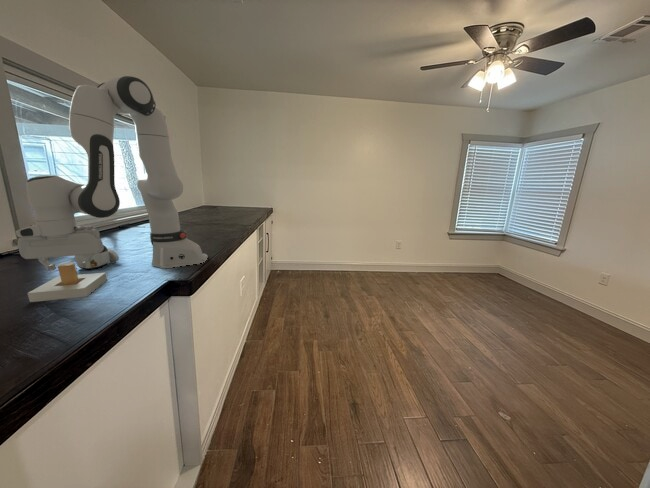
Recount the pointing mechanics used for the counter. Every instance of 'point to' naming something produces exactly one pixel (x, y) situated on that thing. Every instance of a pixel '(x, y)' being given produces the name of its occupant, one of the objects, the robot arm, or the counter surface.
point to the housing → (67, 288)
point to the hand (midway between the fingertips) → (69, 268)
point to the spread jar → (98, 259)
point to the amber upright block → (68, 274)
